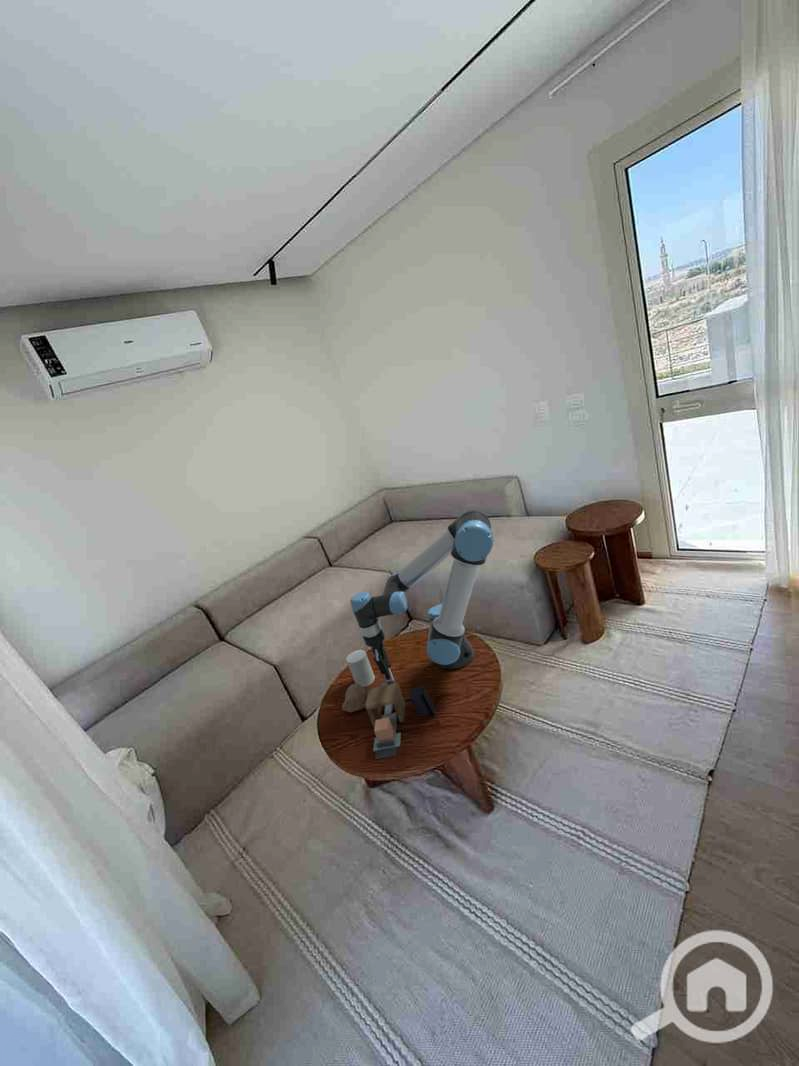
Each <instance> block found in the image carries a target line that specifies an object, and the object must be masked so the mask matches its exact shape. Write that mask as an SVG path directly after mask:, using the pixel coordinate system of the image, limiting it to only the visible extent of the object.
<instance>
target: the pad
mask: <svg viewBox="0 0 799 1066" xmlns="http://www.w3.org/2000/svg"><path fill="white" fill-rule="evenodd" d="M401 736H402V733H401V732H396V739H395V745H391V746H386V747H381V748H377V746H376V742H377V737H374V741H373V748H372V750H373V751H372V752H376V751H380V750H385V749H390V748H395V747H397V748H398V747H401Z"/></svg>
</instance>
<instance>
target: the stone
mask: <svg viewBox="0 0 799 1066" xmlns="http://www.w3.org/2000/svg"><path fill="white" fill-rule="evenodd" d="M367 695H368V690H366V689H365V687H362V686H361V685H360V684H356V683H352V684H351V685H349V686H348V687H347V689H346V691H345V694H344V696H345V697H344V701H343V703H342V705H341V710H343V711H344V712H347V713H353V712H356V711H360V710H362V709H366V701H367Z"/></svg>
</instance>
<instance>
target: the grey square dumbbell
mask: <svg viewBox="0 0 799 1066" xmlns="http://www.w3.org/2000/svg"><path fill="white" fill-rule="evenodd" d="M394 681H395V680H394ZM394 681H389V682H386V681H385V682H381V683H380V684H381V685H380V687H381V686H386V685H390V684H395V683H396V682H394ZM393 707H394V704H391V705H386V706H384V714H382V715H379V719H383V718H387V717H389V719H390V722H391V724H392V727H393V738H392V739H389V740H384V741H379V742H378V740H377V742H376V746H377V748H381V747H386V746H391V745H395V739H396V733H397V726H398V725H397V722H398V721H397V720H398V716H397V713H396V712H393Z"/></svg>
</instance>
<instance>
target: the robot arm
mask: <svg viewBox="0 0 799 1066" xmlns="http://www.w3.org/2000/svg"><path fill="white" fill-rule="evenodd" d="M446 528H447V529H446V532H444V533H443V534H442V535H440V536H439V537H438V538H437V539H436V540H435V541H433V543H431V544H430V545H428V547H426V548H425V549H424V550H423V551H421V552H420V554H418V555H417V556H415V558H413V559H412V560H411V561H410V562H408V563H407V564H406V565H405V566H404V567H403V568H402V569H400V571H398V572H397V573H393V574H390V576H389V577H388V579H387V580H386V582H385V585H384V588H383V589H384V590H383V591H382V594H381V595H377V596H376V595H375V596H371V595H370V593H369V592H367V591H361V592H358V593H356V594H354V595H353V596H352V597H351V598H350V600H349V602H350V605H351V610H352V612H353V614H354V617H355V619H356V622H357V624H358V630H359V631H360V633H361V636H362V638H363V640H364V644H365V645H366V646H367V647H370V648H371V651H372V653H373V655H374V657H373V661H374V662H375V664H376V666H377V667H378V670H379V672H380V675H382V676H383V677H384V679H385V682H389V681H394V682H395V679H394V676H393V674H392V672H391V671H392V670H391V667H392V664H391V663H390V661H389V657H388V654H387V651H386V647H385V644H384V641H385V638H386V637H385V633H384V632H383V629H382V625H381V623H380V620H379V618H382V617H388V616H395V615H399V614H401V613H405V612H406V611H407V610H408V599H407V597H406V593H407V592H408V591H409V590H410V589H411V588H412V587H413V586H414V585H415V586H416V584H417V583H418V582H419V581H421V580H422V579H423V578H424V577H426V576H427V575H428V574H429V573H431V572H432V571H433V570H435V569H436V568H437V567H439V565H441V564H442V563H443V562H444V561H446V560H447V559H448V558H449V557H450V556H451V557H452V559H453V562H452V565H451V570H450V573H449V576H448V580H447V584H446V588H445V591H444V594H443V595H444V596H443V599H442V602H441V604H437V605H435V606H432V607H431V608H430V609H429V610H428V611H427V619H428V621H429V630H428V637H427V644H426V647H425V648H426V654H427V656H428V657H429V659H430V660H431V661H432V662H434V663H436V664H438V666H439V667H440V668H442V669H445V670H456V669H461V668H463V667H466V666H467V665H468V664H470V663H471V662H472V661H473V659H474V657H475V651H474V648H473V646H472V644H471V643H470V641H469V640H468V639H467V637H466V635H465V629H466V628H465V626H464V624H463V622H464V619H465V617H466V616H465V615H466V612H467V609H468V606H469V602H470V599H471V595H472V591H473V588H474V585H475V582H476V579H477V575H478V572H479V569H480V567H481V566H483V565H485V564H486V562H487V559H488V558H487V557H488V556H489V555H490V553H491V551H492V549H493V546H494V535H493V531H492V524H491V522H490V519H489V517H488V516H487V515H486V514H485V513H483V512H482V511H479V510H468V511H465V512H464V513H462V514H461V515H459V516H458V517H457V518H456V519H454V521H452V522H451V524H449V525H448V526H447V527H446ZM395 683H396V682H395Z"/></svg>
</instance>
